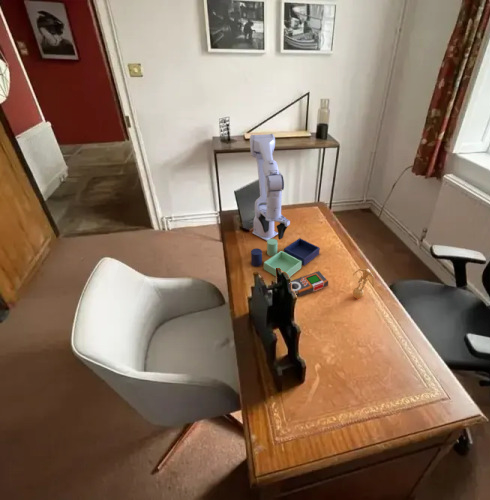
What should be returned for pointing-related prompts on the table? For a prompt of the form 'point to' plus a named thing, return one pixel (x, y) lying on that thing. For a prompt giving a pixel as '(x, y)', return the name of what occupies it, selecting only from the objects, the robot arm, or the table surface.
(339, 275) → the table surface
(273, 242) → the mint peg
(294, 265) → the mint tub
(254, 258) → the navy peg
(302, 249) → the navy tub
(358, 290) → the figurine
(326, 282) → the electronic device
